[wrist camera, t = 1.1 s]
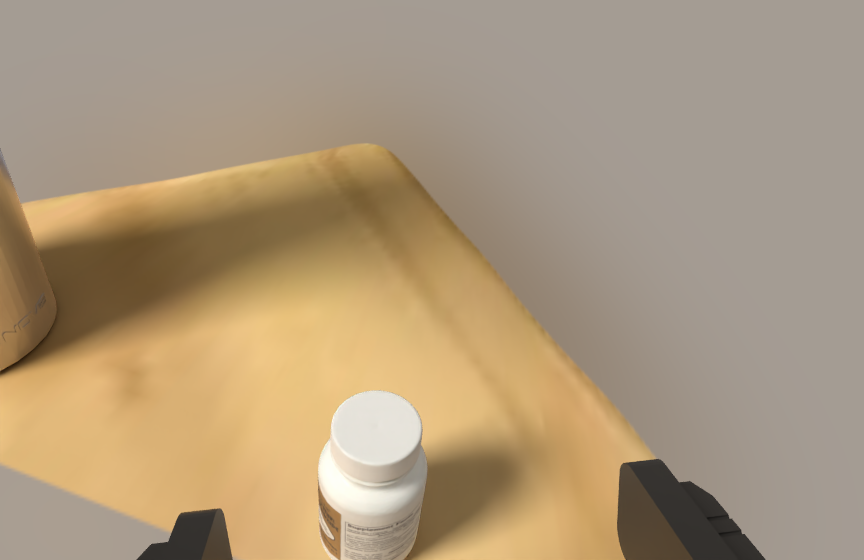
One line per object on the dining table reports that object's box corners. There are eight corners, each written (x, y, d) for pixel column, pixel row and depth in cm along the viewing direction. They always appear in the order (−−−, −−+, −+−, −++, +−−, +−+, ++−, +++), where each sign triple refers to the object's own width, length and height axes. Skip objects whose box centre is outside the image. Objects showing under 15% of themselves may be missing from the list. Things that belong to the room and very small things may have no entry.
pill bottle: (321, 485, 31) (320, 379, 26) (414, 485, 31) (431, 380, 26) (315, 579, 27) (313, 477, 22) (419, 576, 28) (439, 477, 23)
